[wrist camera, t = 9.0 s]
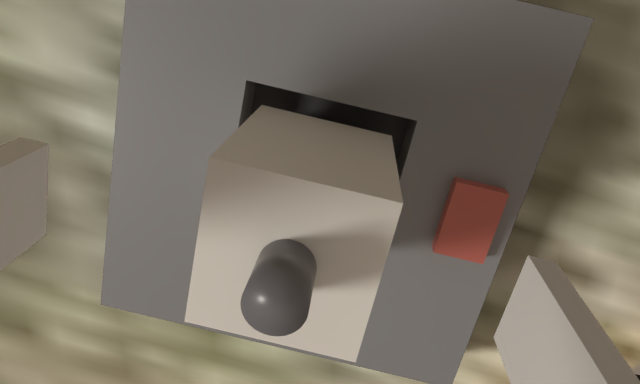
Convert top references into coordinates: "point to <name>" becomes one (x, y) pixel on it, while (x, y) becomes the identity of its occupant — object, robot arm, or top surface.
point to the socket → (350, 109)
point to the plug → (295, 232)
